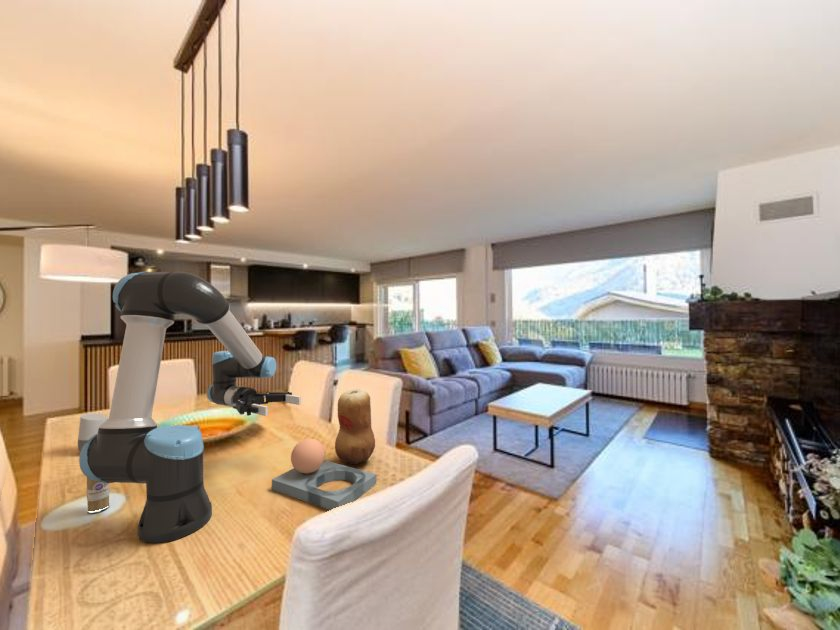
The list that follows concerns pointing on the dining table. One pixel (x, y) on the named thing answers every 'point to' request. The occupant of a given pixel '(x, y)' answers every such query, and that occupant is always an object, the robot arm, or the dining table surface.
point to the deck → (307, 483)
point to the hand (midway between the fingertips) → (284, 405)
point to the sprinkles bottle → (97, 495)
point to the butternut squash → (354, 427)
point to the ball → (308, 456)
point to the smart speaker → (89, 427)
